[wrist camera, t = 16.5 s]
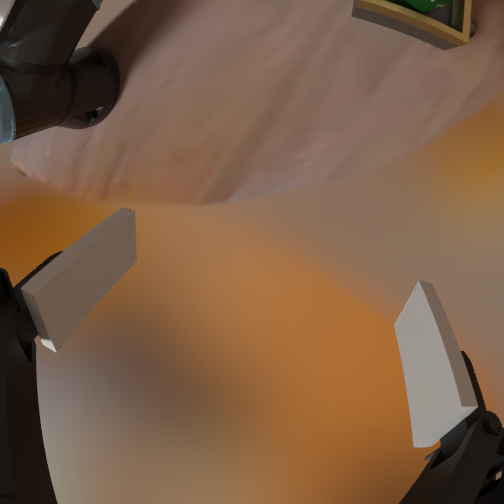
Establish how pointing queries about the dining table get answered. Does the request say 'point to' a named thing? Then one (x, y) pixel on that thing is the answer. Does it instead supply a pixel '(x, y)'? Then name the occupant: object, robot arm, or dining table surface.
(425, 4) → the soya milk
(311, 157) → the dining table surface
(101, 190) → the dining table surface
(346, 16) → the dining table surface
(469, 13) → the open square tray
